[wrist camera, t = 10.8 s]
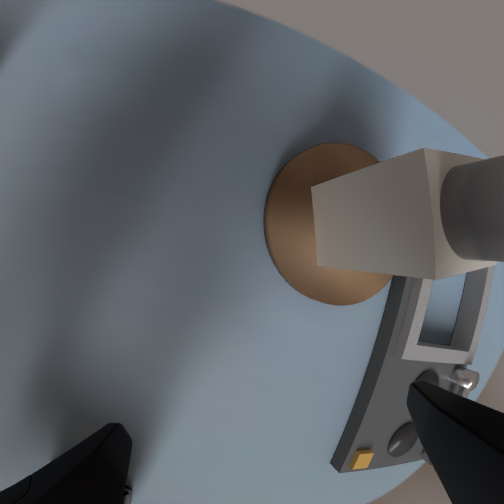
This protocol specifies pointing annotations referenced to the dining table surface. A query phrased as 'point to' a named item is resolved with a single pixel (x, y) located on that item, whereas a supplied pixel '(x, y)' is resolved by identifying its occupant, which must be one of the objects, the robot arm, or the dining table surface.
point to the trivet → (313, 226)
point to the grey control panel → (407, 372)
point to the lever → (461, 387)
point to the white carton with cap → (413, 216)
